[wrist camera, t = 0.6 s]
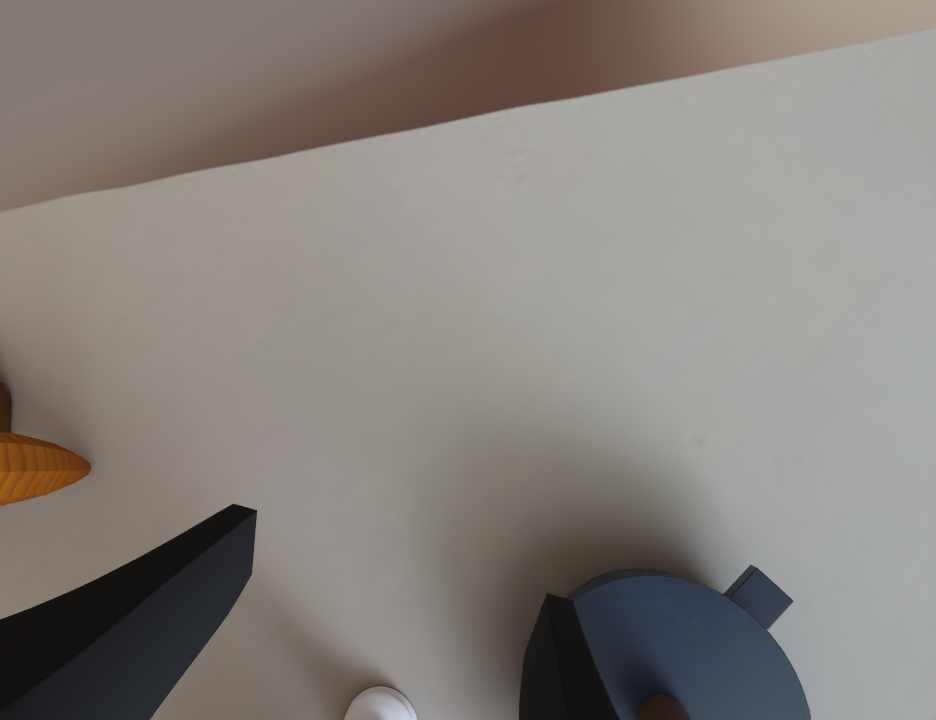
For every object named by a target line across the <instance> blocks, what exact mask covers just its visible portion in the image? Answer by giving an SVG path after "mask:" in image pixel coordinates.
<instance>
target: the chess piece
mask: <svg viewBox="0 0 936 720" xmlns="http://www.w3.org/2000/svg"><path fill="white" fill-rule="evenodd" d="M344 720H417V717H416V714H415V711H414V709H413V707H412V706H411V704H410V702H409V701H408V700H407V699H406V698H405V697H404V696H403V695H402V694H401V693H399V692H398V691H396V690H394V689H392V688H388V687H382V686H378V687H372V688H369V689H367V690H365V691H363V692H361V693H360V694H359V695H358V696H357V697H356V698H355V699H354V700H353V702H352V703H351V705H350V706H349V709H348V711H347V713H346V715H345V718H344Z"/></svg>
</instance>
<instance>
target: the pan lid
mask: <svg viewBox="0 0 936 720" xmlns="http://www.w3.org/2000/svg"><path fill="white" fill-rule="evenodd" d="M572 601H573V602H574V604H575V606H576V609H577V612H578V615H579V618H580V621H581V624H582V627H583V630H584V633H585V635H586V638H587V641H588V644H589V646H590V649H591V651H592V654H593V657H594V659H595V662H596V664H597V667H598V669H599V672H600V674H601V677H602V679H603V681H604V684H605V686H606V688H607V691H608V693H609V695H610V698H611V700H612V702H613V705H614V707H615V709H616V711H617V713H618V716H619V718H620V720H811V715H810V710H809V707H808V703H807V700H806V697H805V694H804V691H803V688H802V686H801V683H800V681H799V679H798V677H797V674H796V672H795V670H794V668H793V667H792V665H791V663H790V661H789V660H788V658H787V656H786V655H785V653H784V651H783V650H782V649H781V647H780V646H779V645H778V643H777V642H776V641H775V639H774V638H773V637H772V635H771V634H770V633H769V632H768V631H767V630H766V629H765V628H764V627H763V626H762V625H761V624H760V622H759V621H758V620H757V619H755V618H754V617H753V616H752V615H751V614H750V613H748V612H747V611H746V610H745V609H744V608H742V607H741V606H740V605H739V604H737V603H735V602H734V601H732V600H731V599H729V598H728V597H726V596H725V595H723V594H722V593H720V592H718V591H716V590H714V589H712V588H710V587H708V586H706V585H704V584H701V583H698V582H695V581H693V580H690V579H687V578H682V577H678V576H673V575H667V574H657V573H641V574H631V575H625V576H620V577H616V578H613V579H610V580H607V581H604V582H601V583H599V584H597V585H595V586H593V587H591V588H589V589H587V590H586V591H584V592H583V593H581V594H580V595H578V596H577V597H575V598H574V599H573V600H572Z"/></svg>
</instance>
